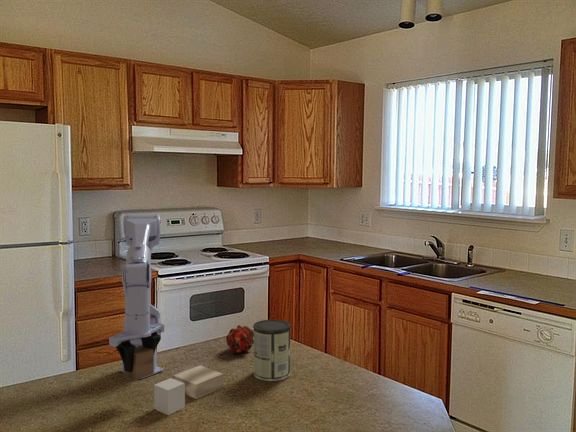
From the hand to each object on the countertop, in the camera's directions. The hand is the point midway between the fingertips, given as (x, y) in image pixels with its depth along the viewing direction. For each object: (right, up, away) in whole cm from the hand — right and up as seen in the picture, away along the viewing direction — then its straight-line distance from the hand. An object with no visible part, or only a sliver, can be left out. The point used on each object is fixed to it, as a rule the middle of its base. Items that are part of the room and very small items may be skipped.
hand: (138, 367), depth 126 cm
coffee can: (+32, -7, +18) cm, 37 cm away
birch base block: (+13, -8, +8) cm, 18 cm away
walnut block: (0, -2, 0) cm, 2 cm away
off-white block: (+8, -9, -3) cm, 12 cm away
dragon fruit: (+21, -6, +36) cm, 42 cm away
